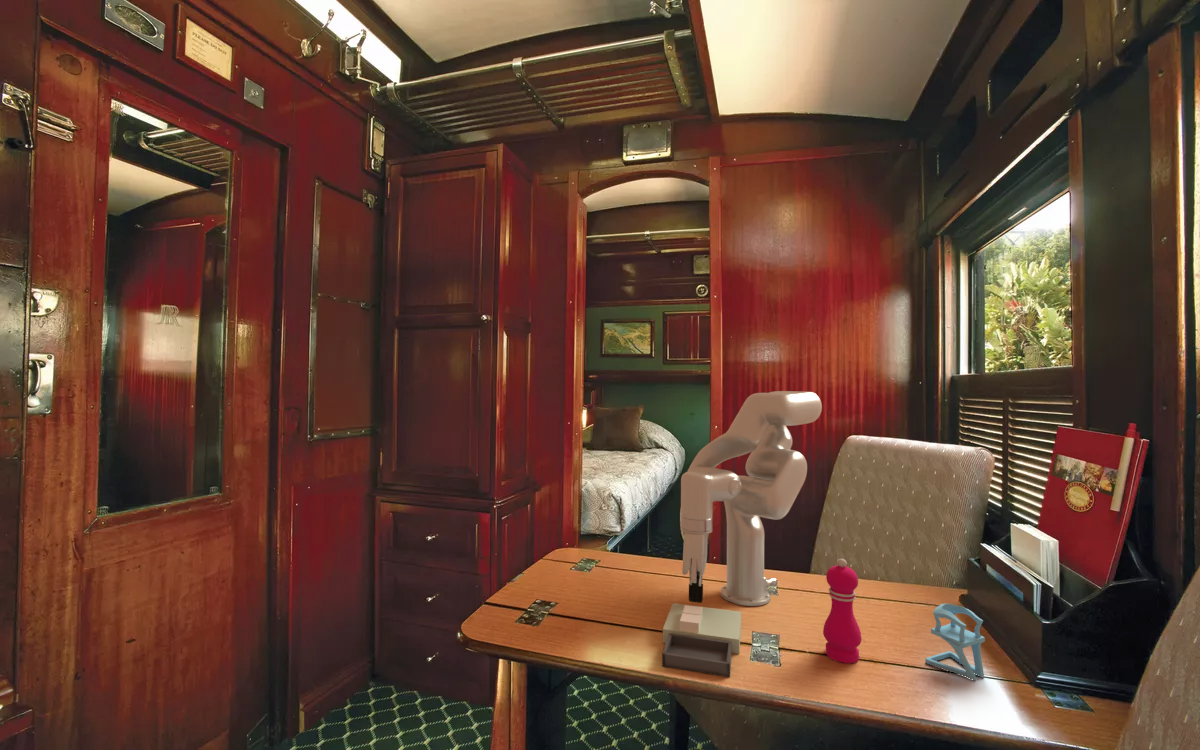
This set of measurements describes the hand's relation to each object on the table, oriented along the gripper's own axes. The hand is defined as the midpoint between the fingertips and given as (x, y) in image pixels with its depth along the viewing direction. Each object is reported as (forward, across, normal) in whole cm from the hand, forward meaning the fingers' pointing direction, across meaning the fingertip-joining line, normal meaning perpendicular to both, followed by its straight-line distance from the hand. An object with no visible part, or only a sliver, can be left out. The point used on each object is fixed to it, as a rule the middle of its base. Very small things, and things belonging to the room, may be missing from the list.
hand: (695, 600), depth 127 cm
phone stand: (+4, +8, +52) cm, 53 cm away
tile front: (+1, +12, 0) cm, 12 cm away
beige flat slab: (+4, +8, +2) cm, 9 cm away
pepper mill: (+4, +9, +31) cm, 32 cm away
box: (+4, +20, +2) cm, 20 cm away
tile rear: (+1, +8, 0) cm, 8 cm away
